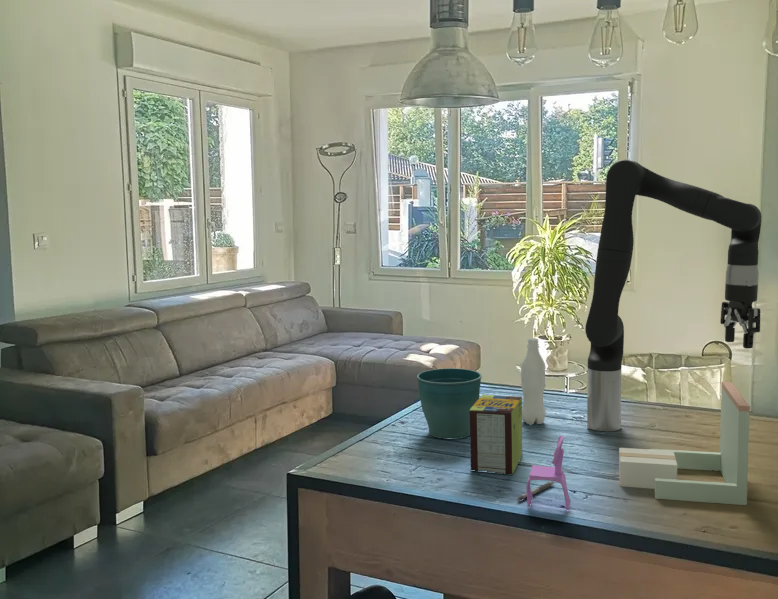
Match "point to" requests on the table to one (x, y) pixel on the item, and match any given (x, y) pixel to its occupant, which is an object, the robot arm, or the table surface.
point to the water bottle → (533, 384)
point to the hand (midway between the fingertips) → (738, 345)
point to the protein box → (496, 433)
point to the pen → (537, 490)
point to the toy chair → (550, 473)
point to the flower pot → (448, 400)
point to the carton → (645, 467)
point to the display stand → (716, 459)
